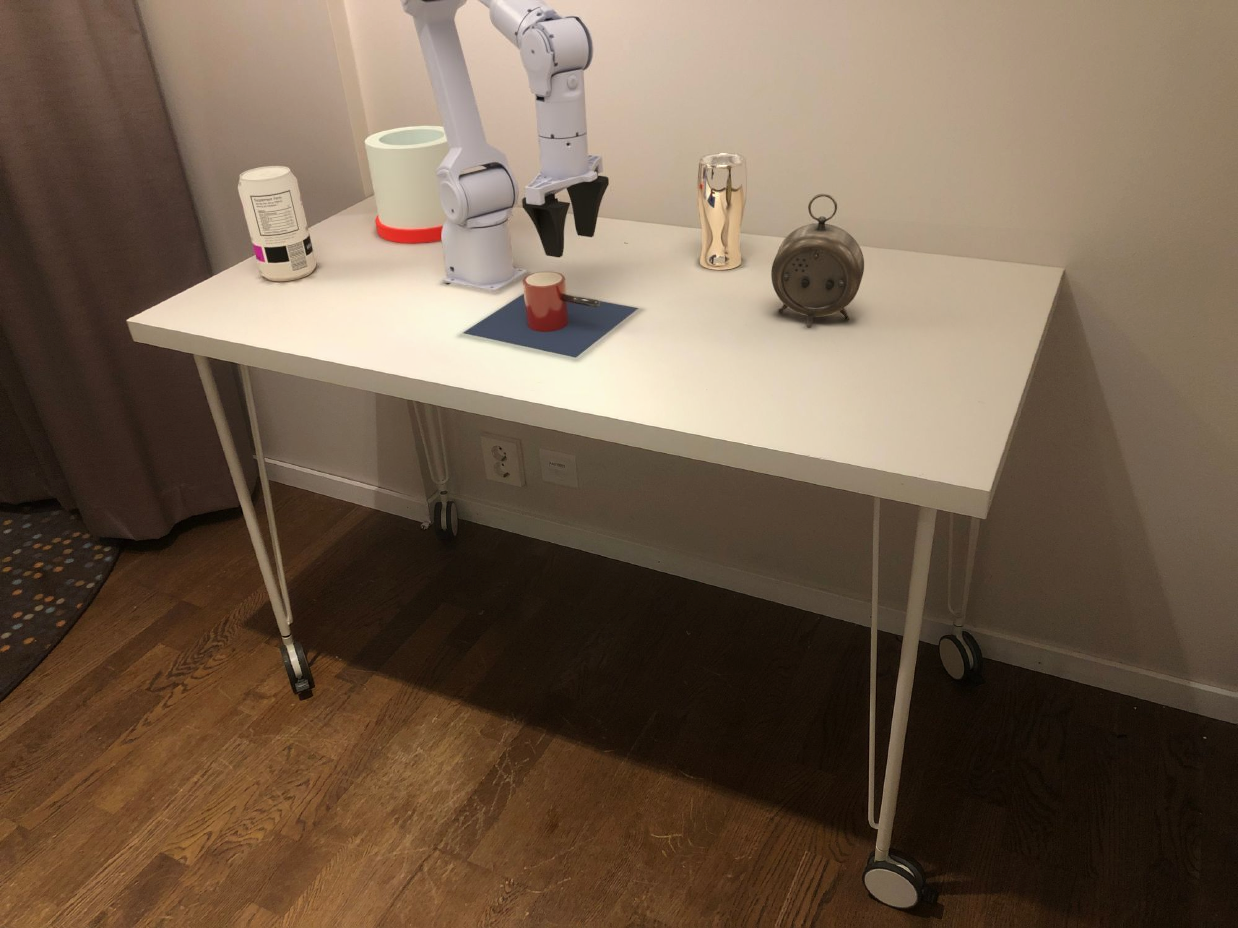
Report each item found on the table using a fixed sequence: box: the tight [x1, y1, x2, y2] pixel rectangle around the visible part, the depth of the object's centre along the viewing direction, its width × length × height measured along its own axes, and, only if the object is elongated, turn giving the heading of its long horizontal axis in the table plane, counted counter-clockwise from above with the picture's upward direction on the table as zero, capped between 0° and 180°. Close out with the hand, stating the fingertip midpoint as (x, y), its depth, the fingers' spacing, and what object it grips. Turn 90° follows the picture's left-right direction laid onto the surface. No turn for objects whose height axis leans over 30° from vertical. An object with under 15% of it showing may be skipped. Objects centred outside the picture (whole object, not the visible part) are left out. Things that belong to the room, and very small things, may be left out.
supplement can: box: [237, 165, 317, 282], centre depth 137 cm, size 8×8×15 cm
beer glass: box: [696, 152, 748, 271], centre depth 133 cm, size 7×7×15 cm
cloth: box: [462, 293, 639, 359], centre depth 122 cm, size 17×16×1 cm
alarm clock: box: [770, 193, 865, 328], centre depth 114 cm, size 11×5×16 cm, turn 71°
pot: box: [522, 271, 600, 332], centre depth 118 cm, size 11×5×6 cm, turn 61°
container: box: [364, 125, 465, 244], centre depth 152 cm, size 16×16×15 cm
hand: (570, 245), depth 116 cm, fingers open, 7 cm apart
